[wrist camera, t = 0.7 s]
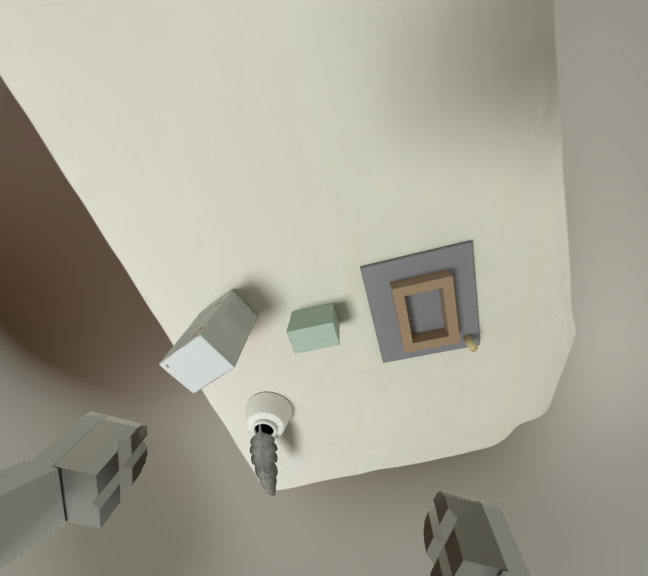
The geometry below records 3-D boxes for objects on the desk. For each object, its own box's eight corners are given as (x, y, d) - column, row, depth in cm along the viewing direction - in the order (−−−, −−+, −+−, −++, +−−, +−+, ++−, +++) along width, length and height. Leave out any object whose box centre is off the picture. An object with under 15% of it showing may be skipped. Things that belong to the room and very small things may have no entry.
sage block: (292, 311, 51) (286, 332, 45) (333, 302, 50) (332, 322, 44) (299, 331, 52) (294, 353, 47) (339, 323, 51) (339, 344, 46)
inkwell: (287, 388, 58) (277, 434, 49) (306, 453, 65) (300, 503, 56) (240, 393, 59) (222, 439, 50) (264, 456, 66) (252, 506, 57)
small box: (225, 339, 54) (192, 395, 42) (198, 313, 52) (156, 364, 40) (259, 316, 51) (235, 368, 40) (232, 288, 49) (199, 334, 38)
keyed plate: (360, 266, 47) (361, 276, 43) (469, 240, 44) (480, 249, 41) (382, 359, 54) (385, 374, 50) (477, 341, 51) (487, 356, 48)
